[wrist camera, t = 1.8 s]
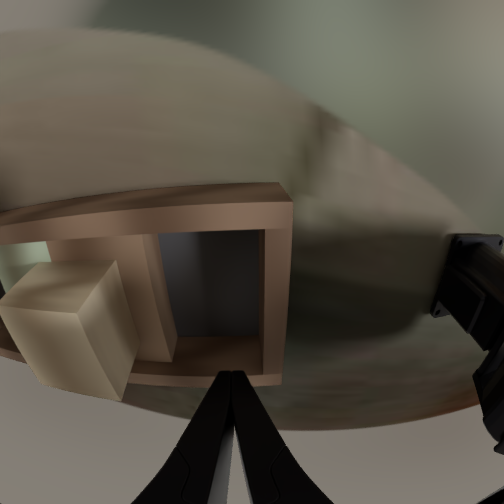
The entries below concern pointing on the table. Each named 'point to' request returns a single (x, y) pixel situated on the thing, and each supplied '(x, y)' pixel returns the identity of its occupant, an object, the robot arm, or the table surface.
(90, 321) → the block
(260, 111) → the table surface
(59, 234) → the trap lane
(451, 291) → the robot arm
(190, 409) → the table surface
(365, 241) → the table surface
